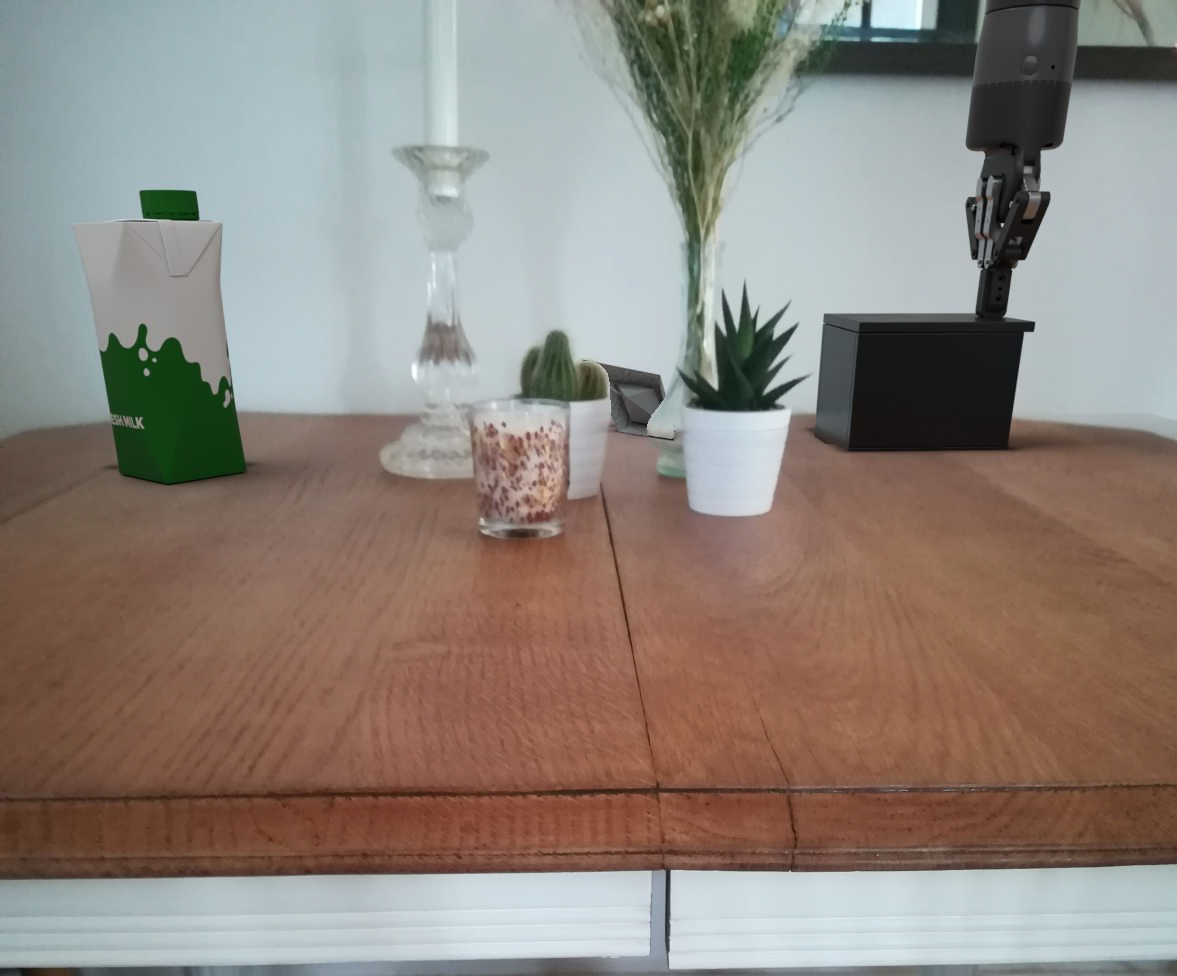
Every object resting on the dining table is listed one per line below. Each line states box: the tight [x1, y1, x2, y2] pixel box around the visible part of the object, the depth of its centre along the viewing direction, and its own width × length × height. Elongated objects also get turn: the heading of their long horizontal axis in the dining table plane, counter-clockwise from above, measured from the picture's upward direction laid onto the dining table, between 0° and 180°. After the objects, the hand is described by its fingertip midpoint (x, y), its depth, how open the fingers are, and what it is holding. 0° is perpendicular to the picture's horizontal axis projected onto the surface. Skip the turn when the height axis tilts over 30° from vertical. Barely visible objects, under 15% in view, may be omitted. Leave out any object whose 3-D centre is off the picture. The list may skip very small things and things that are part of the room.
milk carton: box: [71, 189, 248, 485], centre depth 88 cm, size 9×9×20 cm
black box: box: [813, 323, 1025, 453], centre depth 101 cm, size 14×13×10 cm
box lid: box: [822, 312, 1036, 333], centre depth 99 cm, size 14×13×1 cm
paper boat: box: [582, 358, 667, 437], centre depth 109 cm, size 12×6×9 cm
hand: (989, 316), depth 99 cm, fingers closed
